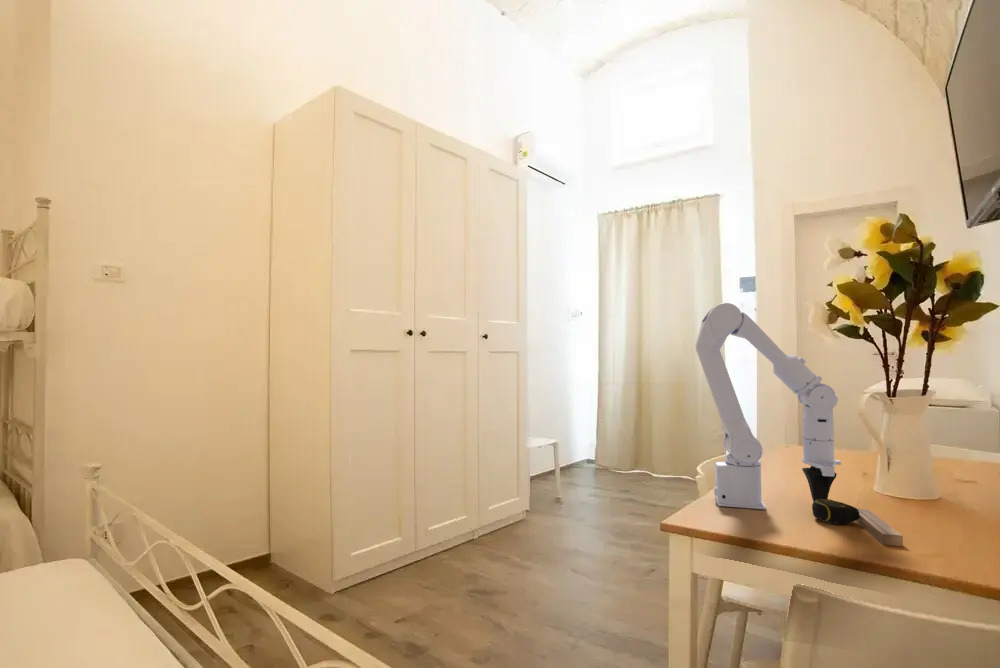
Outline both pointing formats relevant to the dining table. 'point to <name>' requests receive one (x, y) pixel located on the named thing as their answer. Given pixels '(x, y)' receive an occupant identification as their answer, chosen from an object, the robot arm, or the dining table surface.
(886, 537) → the board
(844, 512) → the tape measure
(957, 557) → the dining table surface
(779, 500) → the dining table surface
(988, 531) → the dining table surface
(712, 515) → the dining table surface
